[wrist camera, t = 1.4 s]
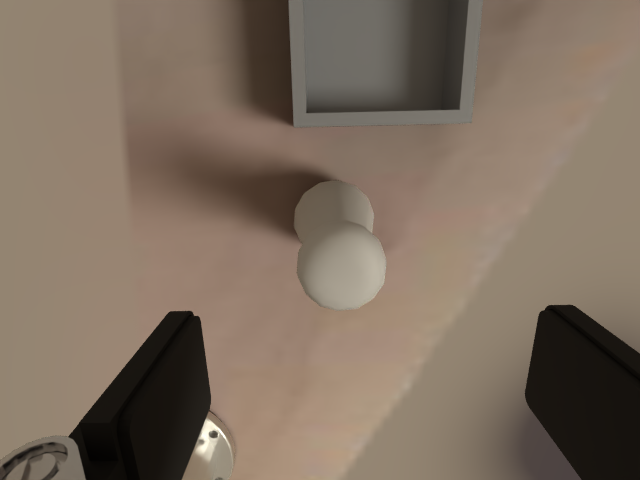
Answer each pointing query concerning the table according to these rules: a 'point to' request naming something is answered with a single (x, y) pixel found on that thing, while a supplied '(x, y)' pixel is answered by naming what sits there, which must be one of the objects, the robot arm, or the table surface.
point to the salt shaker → (338, 246)
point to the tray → (383, 61)
